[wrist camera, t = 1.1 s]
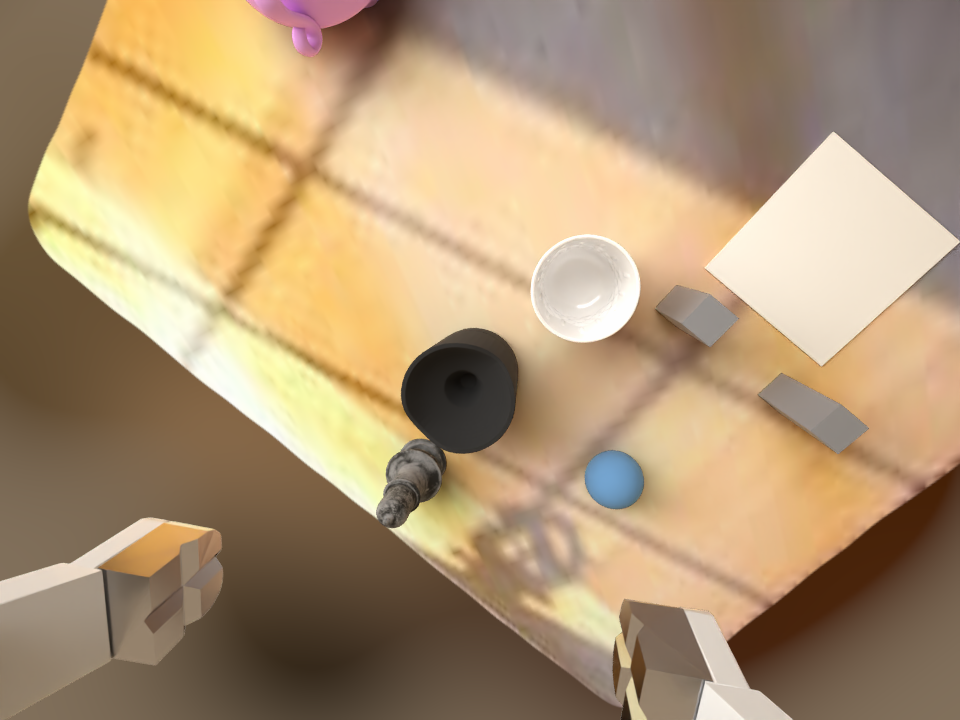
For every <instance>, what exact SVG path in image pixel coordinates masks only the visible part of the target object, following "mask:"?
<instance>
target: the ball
mask: <svg viewBox="0 0 960 720" xmlns="http://www.w3.org/2000/svg"><path fill="white" fill-rule="evenodd" d="M585 484H586V488H587V490H588V492H589V494H590V495H591V497H592V498H593V499H594V500H595V501H596V502H597V503H599V504H600V505H602V506H604V507H607V508H610V509H623V508H626V507H629V506H631V505H632V504H634V503H635V502H636V501H637V500H638V498H639V497H640V495H641V494H642V491H643V487H644V477H643V473H642V470H641V468H640V466H639V465H638V463H637V462H636V461H635V460H634V459H633V458H632V457H631V456H629V455H627V454H626V453H623V452H620V451H614V450H611V451H605V452H602V453H599V454H598V455H596V456H595V457H594V458H593V459H592V460H591V461H590V462H589V464H588V466H587V468H586V471H585Z"/></svg>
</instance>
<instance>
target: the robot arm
mask: <svg viewBox="0 0 960 720" xmlns="http://www.w3.org/2000/svg"><path fill="white" fill-rule="evenodd" d="M221 549H222V541H221V534H220V533H219V532H218V531H216V530H214V529H210V528H205V527H200V526H195V525H190V524H185V523H179V522H174V521H168V520H162V519H157V518H145V519H141V520H139V521H137V522H136V523H134V524H133V525H131V526H130V527H128V528H126V529H125V530H123V531H121V532H120V533H118V534H117V535H115V536H113V537H112V538H110V539H109V540H107V541H105V542H104V543H102V544H101V545H99V546H98V547H96V548H94V549H93V550H91V551H90V552H88V553H86V554H85V555H84V556H82V557H80V558H78V559H77V560H75V561H74V562H72V563H70V564H66V563H60V564H57V565H54V566H50V567H47V568H43V569H40V570H37V571H33V572H30V573H27V574H24V575H20V576H17V577H14V578H10V579H7V580H3V581H0V720H6V719H8V718H10V717H12V716H13V715H15V714H17V713H19V712H21V711H22V710H24V709H26V708H28V707H29V706H31V705H33V704H35V703H37V702H38V701H40V700H42V699H44V698H46V697H47V696H49V695H51V694H53V693H55V692H56V691H58V690H60V689H61V688H63V687H65V686H67V685H69V684H71V683H72V682H74V681H76V680H78V679H80V678H81V677H83V676H85V675H87V674H88V673H90V672H92V671H94V670H96V669H97V668H99V667H101V666H103V665H104V664H106V663H108V662H110V661H111V658H114V659H120V660H126V661H132V662H138V663H144V664H150V665H157V663H158V662H159V661H160V660H161V659H162V658H163V657H164V656H165V655H166V654H167V653H168V652H169V651H170V650H171V649H172V648H173V647H174V646H175V645H176V644H177V643H178V642H179V641H180V640H181V639H182V638H183V637H184V632H185V625H187V624H190V623H192V622H194V621H196V620H198V619H200V618H202V617H203V616H204V615H205V613H206V612H207V611H208V610H209V609H210V608H211V607H212V606H213V604H214V602H215V600H216V598H217V596H218V594H219V592H220V590H221V585H222V581H223V568H222V566H221V564H220V563H219V562H218V560H217V558H216V555H217V554H218V553H219V552H220V551H221ZM619 618H620V623H621V628H622V633H620V634H619V635H618V636H617V637H616V638H615V644H614V651H613V669H612V671H613V684H614V690H615V696H616V698H617V699H618V701H619V702H620V703H621V704H622V706H623V708H622V714H621V720H792V719H791V718H790V717H789V716H788V715H787V714H786V713H784V712H783V711H782V710H780V708H779V707H777V706H776V705H775V704H774V703H773V702H772V701H770V700H769V699H768V698H767V697H766V696H765V695H763V694H762V693H761V692H760V691H756V690H751V689H750V688H749V686H748V684H747V682H746V680H745V678H744V676H743V674H742V672H741V670H740V668H739V666H738V664H737V662H736V660H735V658H734V656H733V654H732V652H731V650H730V648H729V646H728V644H727V642H726V640H725V638H724V636H723V634H722V632H721V630H720V628H719V626H718V624H717V622H716V620H715V618H714V616H713V615H712V614H711V613H710V612H709V611H706V610H699V609H692V608H685V607H680V608H677V607H671V606H665V605H659V604H653V603H647V602H641V601H635V600H629V599H624V601H623V603H622V606H621V611H620V616H619Z"/></svg>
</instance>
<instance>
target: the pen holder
mask: <svg viewBox="0 0 960 720" xmlns="http://www.w3.org/2000/svg"><path fill="white" fill-rule="evenodd" d="M517 382H518V366H517V361H516V358H515V355H514V353H513V351H512V349H511V348H510V346H509V345H508V344H507V342H506V341H505V340H503V339H502V338H501V337H500V336H498V335H497V334H495V333H493V332H491V331H488V330H485V329H479V328H469V329H463V330H460V331H457V332H455V333H453V334H451V335H450V336H448V337H446V338H445V339H443V340H441V341H440V342H438V343H437V344H435V345H434V346H432V347H431V348H429V349H428V350H426V351H425V352H423V353H422V354H421V355H419V356H418V357H417V358H416V359H415V360H414V361H413V362H412V364H411V365H410V367H409V368H408V370H407V372H406V374H405V376H404V379H403V382H402V388H401V399H402V405H403V408H404V410H405V412H406V414H407V416H408V417H409V419H410V420H411V421H412V422H413V423H414V425H415V426H416V427H417V428H418V429H419V430H420V431H421V432H422V433H423V434H424V435H425V436H426V437H427V438H428V439H429V440H430V441H431V442H433V443H434V444H435V445H436V446H438V447H440V448H441V449H443V450H446V451H448V452H452V453H462V454H465V453H473V452H477V451H480V450H483V449H485V448H487V447H489V446H491V445H492V444H494V443H495V442H496V441H498V440H499V439H500V438H501V437H502V436H503V434H504V433H505V432H506V430H507V429H508V427H509V425H510V423H511V421H512V418H513V414H514V410H515V401H516V392H517Z"/></svg>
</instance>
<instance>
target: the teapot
mask: <svg viewBox="0 0 960 720" xmlns="http://www.w3.org/2000/svg"><path fill="white" fill-rule="evenodd" d="M246 1H247V2H248V3H249V4H250V5H252V6H253V7H254V8H255V9H256V10H257V11H259V12H260V13H261V14H263V15H264V16H265V17H267V18H269V19H271V20H273V21H275V22H277V23H280V24H282V25H285V26H289V27H293V30H292V39H293V44H294V46H295V48H296V50H297V51H298V52H299V53H300V54H302V55H304V56H308V57H312V56H315V55H317V54H318V52H319V51H320V49H321V46H322V32H321V28H327V27H331V26H334V25H338V24H340V23H342V22H344V21H346V20H348V19H350V18H351V17H353V16H354V15H356V14H357V13H359V12H360V11H361V10H362V9H363V8H369V7H372V6H373V5H375V4H376V3H377V1H378V0H246Z"/></svg>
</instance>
